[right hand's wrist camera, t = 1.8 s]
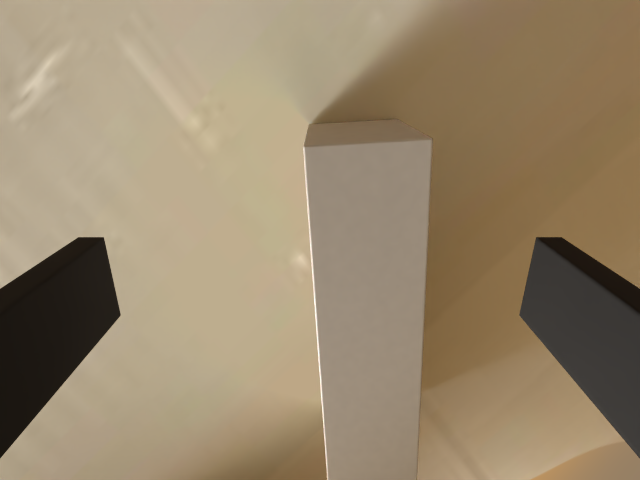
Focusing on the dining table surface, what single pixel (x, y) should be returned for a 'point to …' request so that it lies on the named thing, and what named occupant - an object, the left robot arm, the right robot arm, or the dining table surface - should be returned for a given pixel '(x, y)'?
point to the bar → (369, 290)
